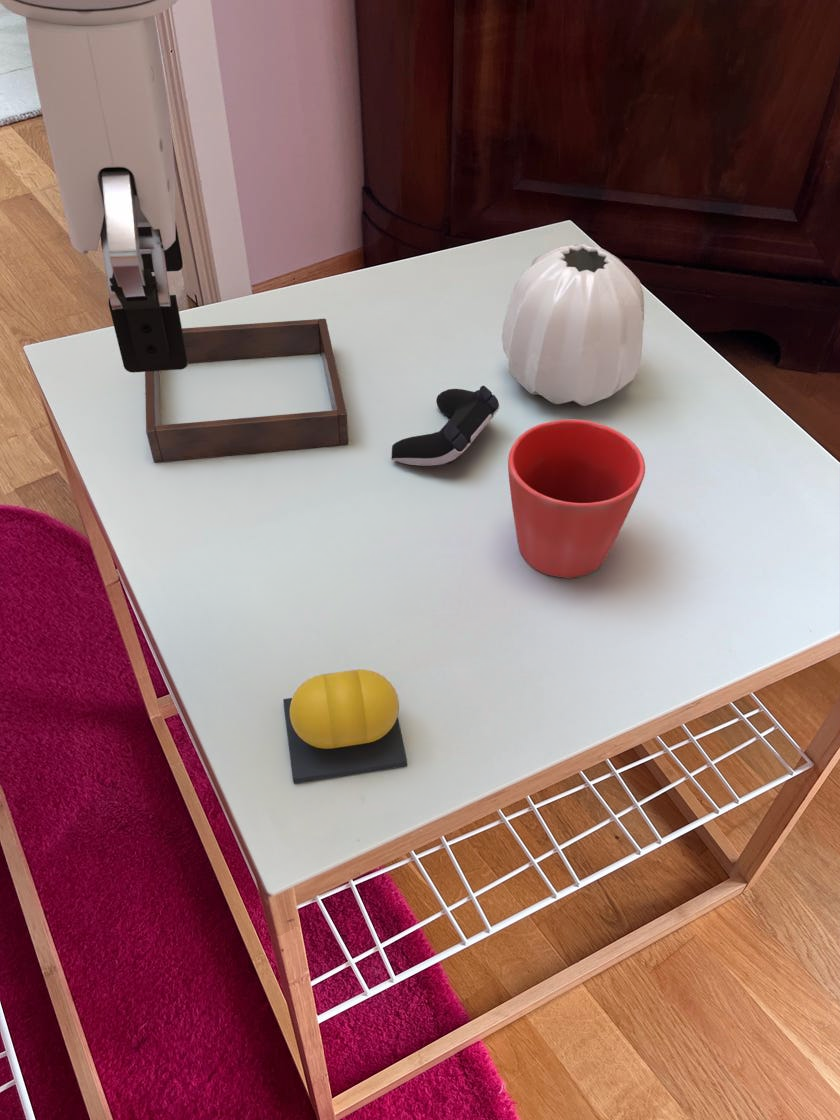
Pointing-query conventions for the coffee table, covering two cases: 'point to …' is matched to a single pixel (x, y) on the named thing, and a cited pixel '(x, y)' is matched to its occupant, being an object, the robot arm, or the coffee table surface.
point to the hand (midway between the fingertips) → (156, 316)
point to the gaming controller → (450, 428)
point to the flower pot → (571, 493)
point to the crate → (254, 430)
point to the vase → (575, 325)
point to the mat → (343, 755)
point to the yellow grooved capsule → (344, 709)
